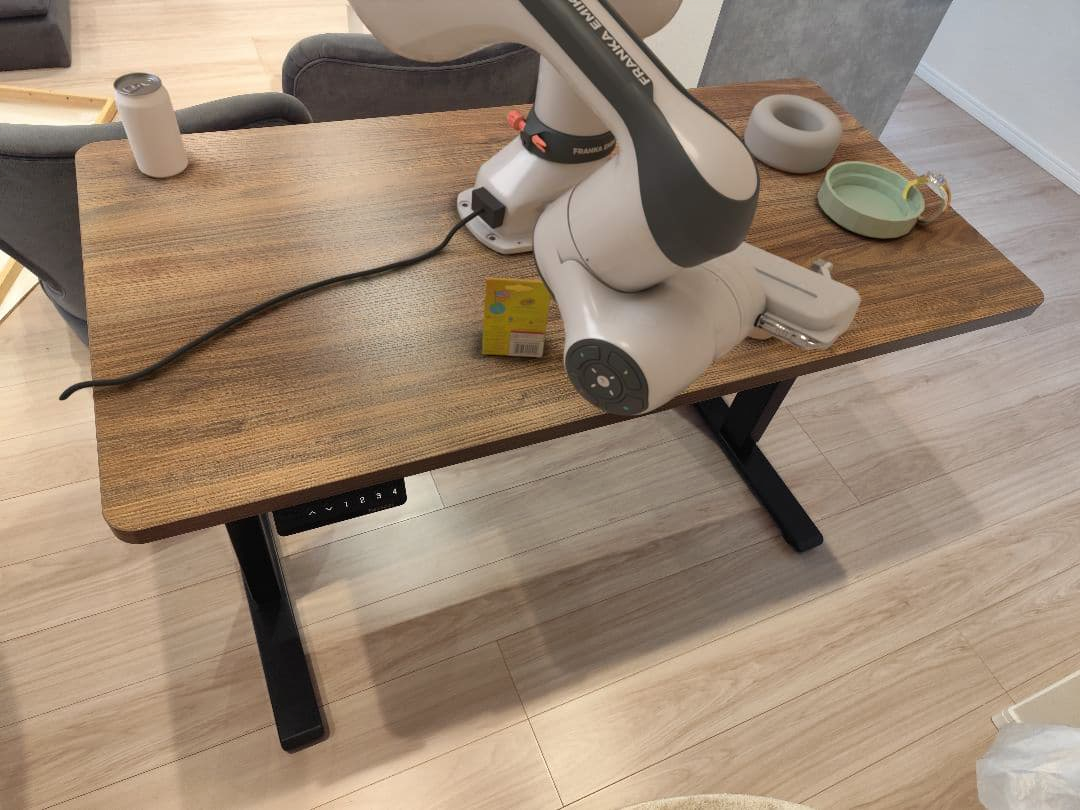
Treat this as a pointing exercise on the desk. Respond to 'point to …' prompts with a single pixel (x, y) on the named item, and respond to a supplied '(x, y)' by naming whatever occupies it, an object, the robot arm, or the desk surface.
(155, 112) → the can
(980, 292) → the desk surface
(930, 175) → the ring
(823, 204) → the bowl
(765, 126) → the donut shape
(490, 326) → the crayon box
